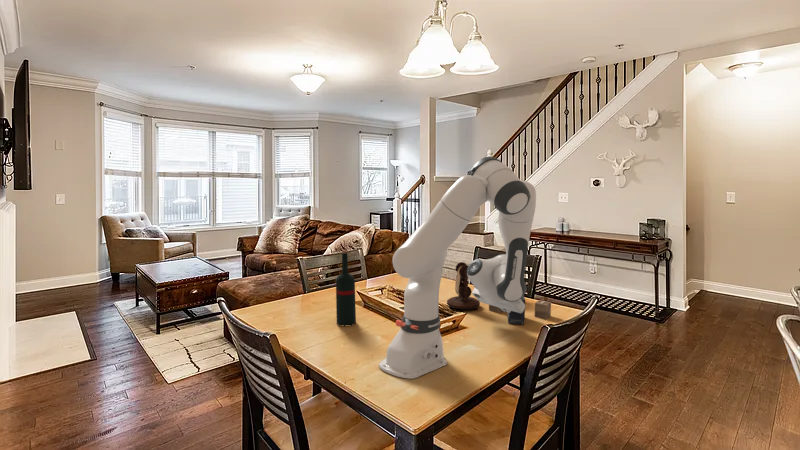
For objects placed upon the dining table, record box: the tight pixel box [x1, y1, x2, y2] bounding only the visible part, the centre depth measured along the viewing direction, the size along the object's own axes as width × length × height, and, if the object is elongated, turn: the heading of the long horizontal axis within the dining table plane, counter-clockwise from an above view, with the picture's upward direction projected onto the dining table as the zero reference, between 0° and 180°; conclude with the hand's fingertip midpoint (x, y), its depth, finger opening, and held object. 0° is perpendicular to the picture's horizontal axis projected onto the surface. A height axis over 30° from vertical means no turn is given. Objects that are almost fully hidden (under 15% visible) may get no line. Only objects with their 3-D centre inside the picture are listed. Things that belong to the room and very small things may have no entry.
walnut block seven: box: [488, 304, 503, 313], centre depth 183 cm, size 5×5×6 cm
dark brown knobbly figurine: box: [446, 261, 481, 311], centre depth 187 cm, size 15×15×20 cm
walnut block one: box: [534, 299, 552, 320], centre depth 174 cm, size 5×5×6 cm
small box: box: [507, 295, 526, 325], centre depth 169 cm, size 11×6×10 cm, turn 168°
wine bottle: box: [335, 249, 357, 327], centre depth 168 cm, size 8×10×30 cm
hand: (507, 310), depth 165 cm, fingers closed
